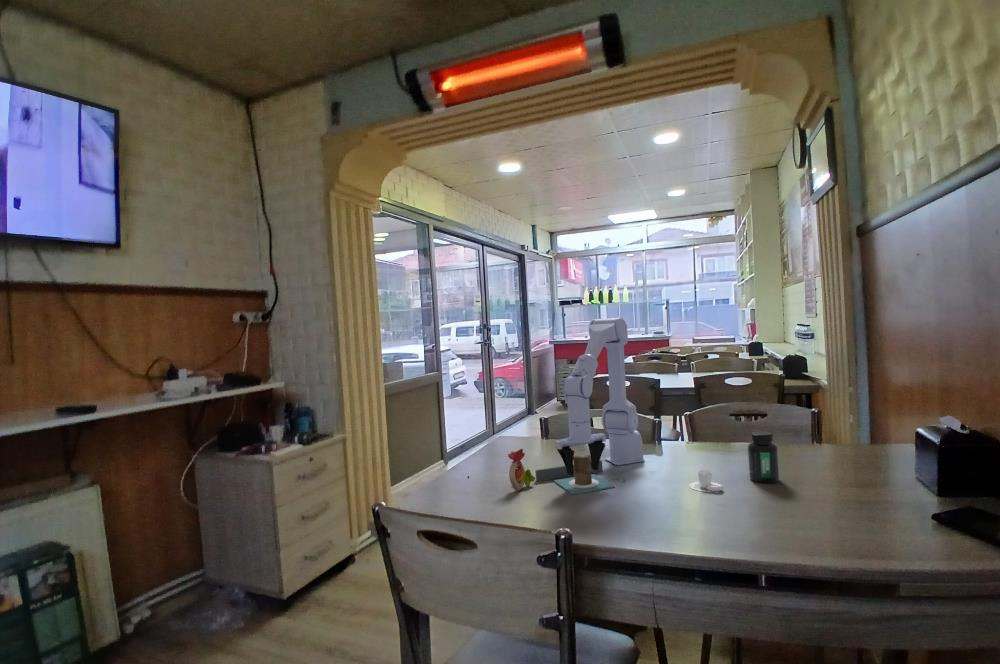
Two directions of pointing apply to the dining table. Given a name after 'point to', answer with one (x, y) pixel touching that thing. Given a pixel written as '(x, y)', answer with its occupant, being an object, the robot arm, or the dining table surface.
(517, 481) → the bird rattle
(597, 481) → the mat
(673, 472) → the dining table surface
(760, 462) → the supplement bottle
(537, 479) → the low wall
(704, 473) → the teacup and saucer
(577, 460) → the walnut cylinder
